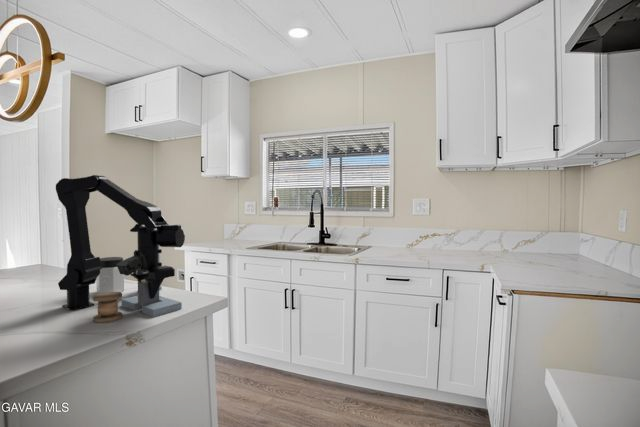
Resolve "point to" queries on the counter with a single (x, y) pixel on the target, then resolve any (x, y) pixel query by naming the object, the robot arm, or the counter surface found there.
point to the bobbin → (107, 307)
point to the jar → (110, 276)
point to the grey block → (145, 294)
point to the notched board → (153, 305)
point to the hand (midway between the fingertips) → (148, 297)
